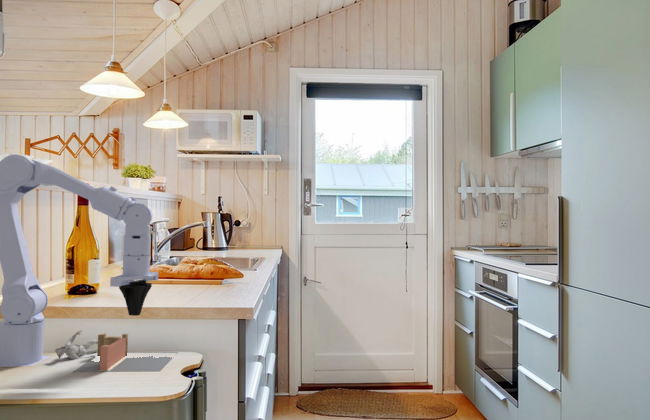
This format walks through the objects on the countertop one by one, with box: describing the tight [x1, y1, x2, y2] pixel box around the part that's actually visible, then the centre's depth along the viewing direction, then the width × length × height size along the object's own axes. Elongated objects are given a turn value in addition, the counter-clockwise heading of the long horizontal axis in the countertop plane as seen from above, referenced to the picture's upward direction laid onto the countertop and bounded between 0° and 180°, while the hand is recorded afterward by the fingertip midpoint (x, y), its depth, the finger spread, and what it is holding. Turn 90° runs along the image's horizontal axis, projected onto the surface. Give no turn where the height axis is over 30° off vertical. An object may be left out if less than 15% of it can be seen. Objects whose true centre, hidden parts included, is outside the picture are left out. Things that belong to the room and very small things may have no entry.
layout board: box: [72, 351, 179, 373], centre depth 95 cm, size 17×14×1 cm
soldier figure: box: [54, 330, 98, 360], centre depth 100 cm, size 8×5×12 cm
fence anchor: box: [96, 333, 129, 356], centre depth 99 cm, size 6×1×5 cm, turn 94°
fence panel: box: [100, 337, 126, 370], centre depth 93 cm, size 10×1×5 cm, turn 3°
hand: (134, 315), depth 101 cm, fingers closed
